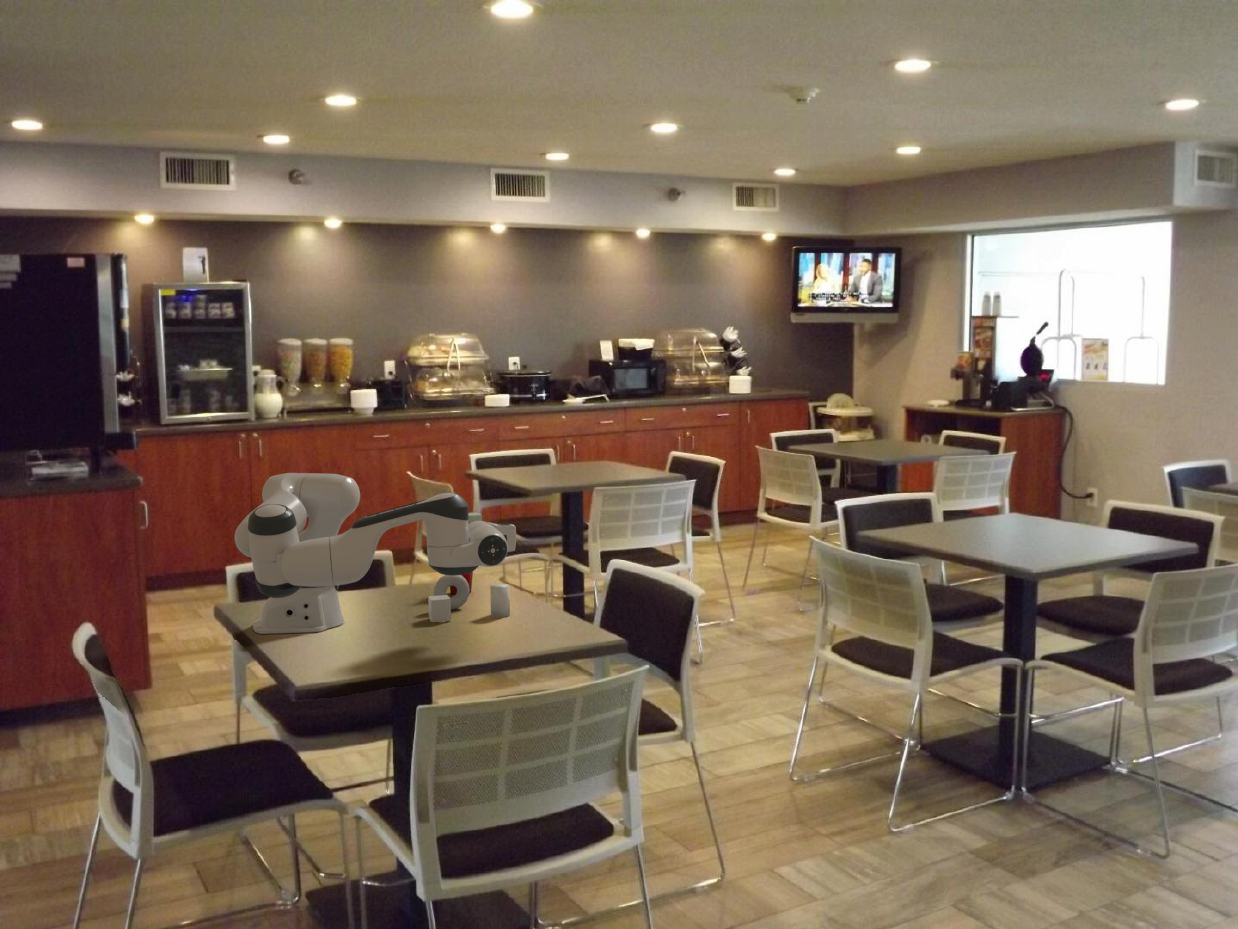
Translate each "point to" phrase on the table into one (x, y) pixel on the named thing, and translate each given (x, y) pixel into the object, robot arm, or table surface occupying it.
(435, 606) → the grey cube
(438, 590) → the donut
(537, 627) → the table surface
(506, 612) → the white canister
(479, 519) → the sage block
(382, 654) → the table surface
